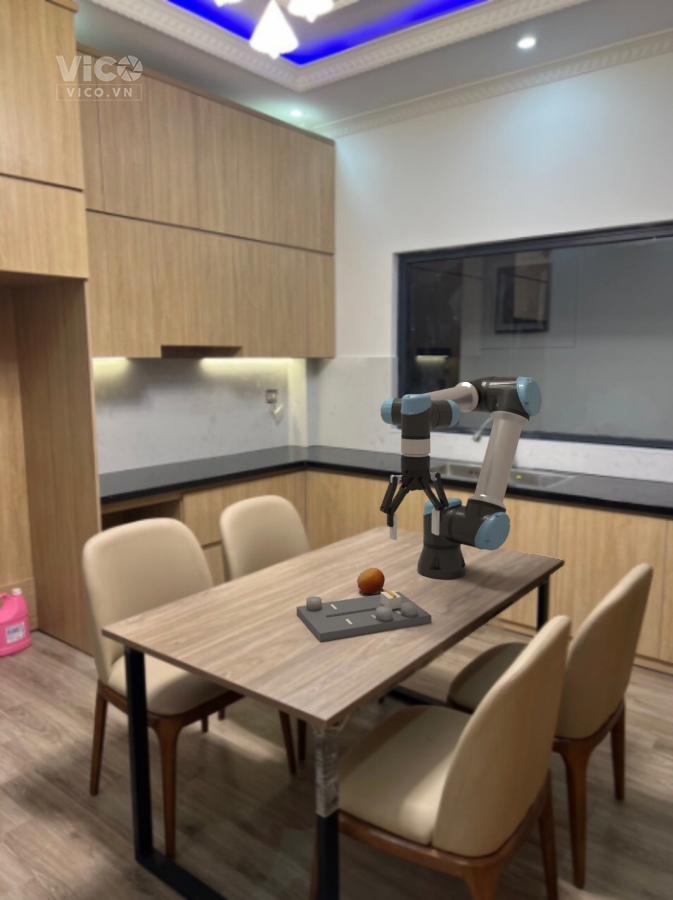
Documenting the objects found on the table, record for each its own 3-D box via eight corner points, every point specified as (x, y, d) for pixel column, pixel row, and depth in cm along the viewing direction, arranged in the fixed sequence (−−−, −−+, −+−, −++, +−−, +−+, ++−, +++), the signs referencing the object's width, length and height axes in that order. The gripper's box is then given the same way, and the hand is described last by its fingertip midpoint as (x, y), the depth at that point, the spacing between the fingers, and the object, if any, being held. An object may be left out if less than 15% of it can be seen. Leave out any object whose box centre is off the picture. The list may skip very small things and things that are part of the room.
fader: (392, 601, 172) (392, 588, 172) (401, 607, 168) (401, 594, 167) (380, 603, 171) (380, 589, 171) (388, 609, 166) (389, 596, 166)
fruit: (389, 593, 181) (374, 568, 181) (365, 605, 183) (351, 581, 183) (392, 583, 189) (378, 559, 189) (369, 595, 191) (356, 572, 191)
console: (398, 598, 181) (399, 583, 180) (431, 622, 164) (431, 606, 163) (296, 614, 170) (296, 598, 169) (319, 641, 153) (319, 623, 153)
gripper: (448, 450, 174) (447, 528, 177) (366, 455, 166) (366, 537, 169) (463, 453, 167) (461, 535, 170) (379, 459, 159) (378, 544, 162)
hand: (414, 536), depth 170 cm, fingers open, 12 cm apart
